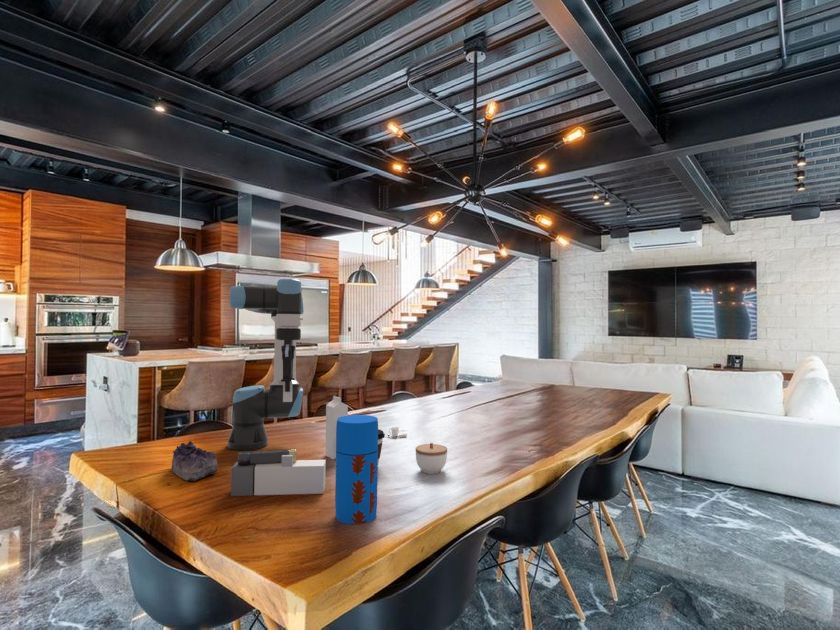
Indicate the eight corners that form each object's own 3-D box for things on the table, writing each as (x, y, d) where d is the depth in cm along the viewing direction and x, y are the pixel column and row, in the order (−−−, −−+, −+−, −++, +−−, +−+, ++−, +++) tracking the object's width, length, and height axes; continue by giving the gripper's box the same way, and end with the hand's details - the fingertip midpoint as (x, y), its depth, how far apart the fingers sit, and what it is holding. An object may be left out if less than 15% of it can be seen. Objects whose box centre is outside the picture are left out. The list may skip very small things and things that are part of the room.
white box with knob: (236, 488, 138) (237, 451, 139) (325, 486, 141) (325, 449, 141) (230, 495, 132) (231, 457, 133) (323, 493, 135) (323, 455, 135)
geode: (156, 471, 153) (161, 440, 154) (191, 468, 162) (195, 438, 163) (184, 483, 140) (189, 449, 141) (221, 479, 149) (225, 447, 150)
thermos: (337, 507, 125) (338, 414, 126) (377, 506, 126) (378, 414, 126) (333, 525, 114) (334, 423, 115) (376, 524, 115) (378, 423, 116)
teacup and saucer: (409, 437, 203) (409, 427, 203) (398, 440, 197) (398, 431, 197) (393, 434, 208) (393, 425, 208) (382, 437, 201) (382, 428, 201)
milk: (332, 459, 168) (333, 398, 168) (325, 455, 173) (325, 396, 173) (347, 456, 172) (348, 397, 172) (340, 452, 176) (340, 394, 176)
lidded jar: (424, 478, 149) (424, 448, 150) (409, 468, 159) (410, 441, 159) (453, 473, 154) (453, 445, 154) (437, 464, 164) (437, 437, 164)
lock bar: (296, 462, 137) (296, 452, 137) (236, 466, 133) (236, 455, 133) (296, 458, 141) (296, 448, 141) (238, 461, 137) (238, 451, 137)
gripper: (299, 328, 143) (298, 405, 142) (301, 327, 155) (300, 397, 155) (274, 327, 141) (272, 405, 141) (278, 327, 154) (277, 398, 154)
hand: (287, 401), depth 148 cm, fingers closed
